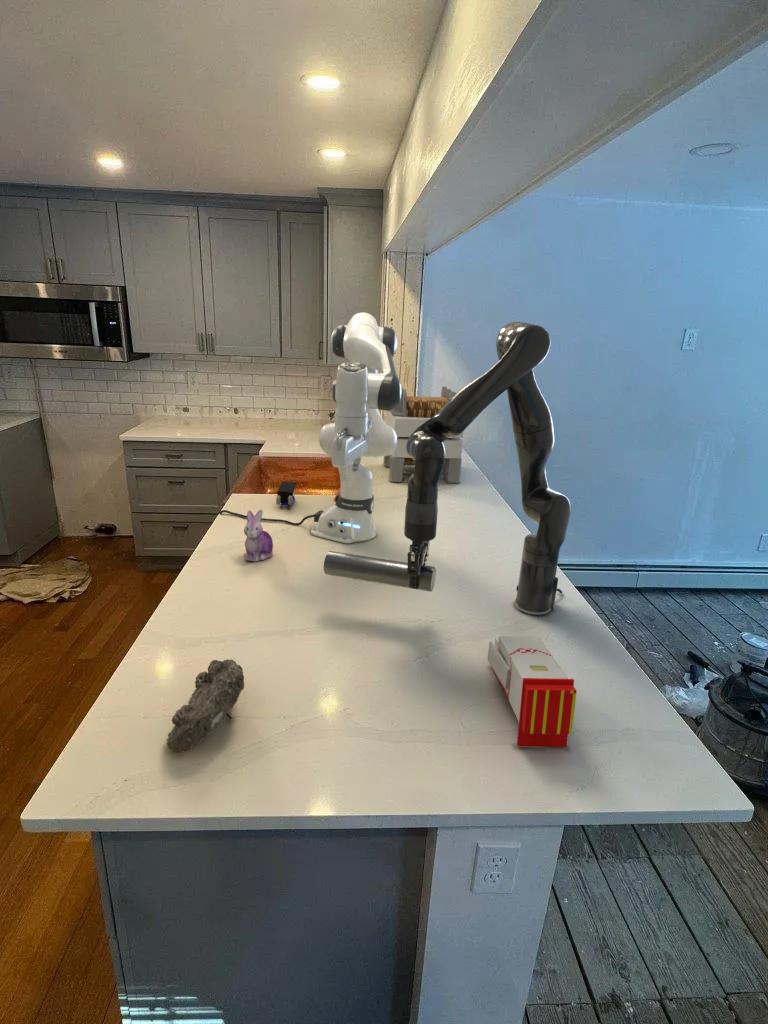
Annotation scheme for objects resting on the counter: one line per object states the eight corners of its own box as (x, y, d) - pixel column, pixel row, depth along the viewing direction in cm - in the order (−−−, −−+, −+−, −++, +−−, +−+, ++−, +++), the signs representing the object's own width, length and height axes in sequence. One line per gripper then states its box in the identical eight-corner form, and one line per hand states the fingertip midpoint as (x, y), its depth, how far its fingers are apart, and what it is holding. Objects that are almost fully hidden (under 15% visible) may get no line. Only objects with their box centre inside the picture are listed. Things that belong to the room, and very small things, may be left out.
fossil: (192, 660, 117) (244, 628, 112) (224, 691, 120) (276, 661, 115) (142, 746, 98) (202, 712, 93) (182, 779, 101) (242, 748, 96)
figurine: (248, 564, 171) (246, 518, 166) (239, 551, 179) (237, 507, 174) (278, 559, 175) (277, 514, 170) (269, 547, 183) (267, 503, 178)
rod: (323, 578, 142) (323, 556, 140) (332, 568, 147) (332, 547, 145) (430, 596, 135) (431, 573, 133) (435, 585, 140) (436, 562, 138)
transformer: (382, 463, 289) (386, 382, 275) (445, 464, 293) (451, 384, 279) (390, 482, 257) (394, 392, 243) (460, 483, 261) (468, 394, 247)
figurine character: (293, 513, 218) (297, 497, 231) (292, 495, 215) (297, 480, 228) (275, 513, 218) (281, 496, 231) (274, 495, 214) (280, 479, 228)
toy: (536, 619, 129) (586, 686, 99) (531, 673, 131) (578, 754, 102) (483, 618, 128) (517, 685, 99) (479, 672, 131) (511, 753, 102)
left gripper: (349, 434, 141) (348, 487, 145) (373, 420, 159) (371, 467, 164) (325, 431, 142) (325, 484, 147) (352, 418, 161) (351, 465, 166)
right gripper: (430, 530, 125) (426, 598, 131) (442, 509, 138) (437, 572, 144) (397, 525, 127) (394, 592, 132) (412, 506, 140) (409, 567, 146)
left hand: (350, 475), depth 156 cm, fingers open, 8 cm apart
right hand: (417, 581), depth 138 cm, fingers closed on rod, 6 cm apart
